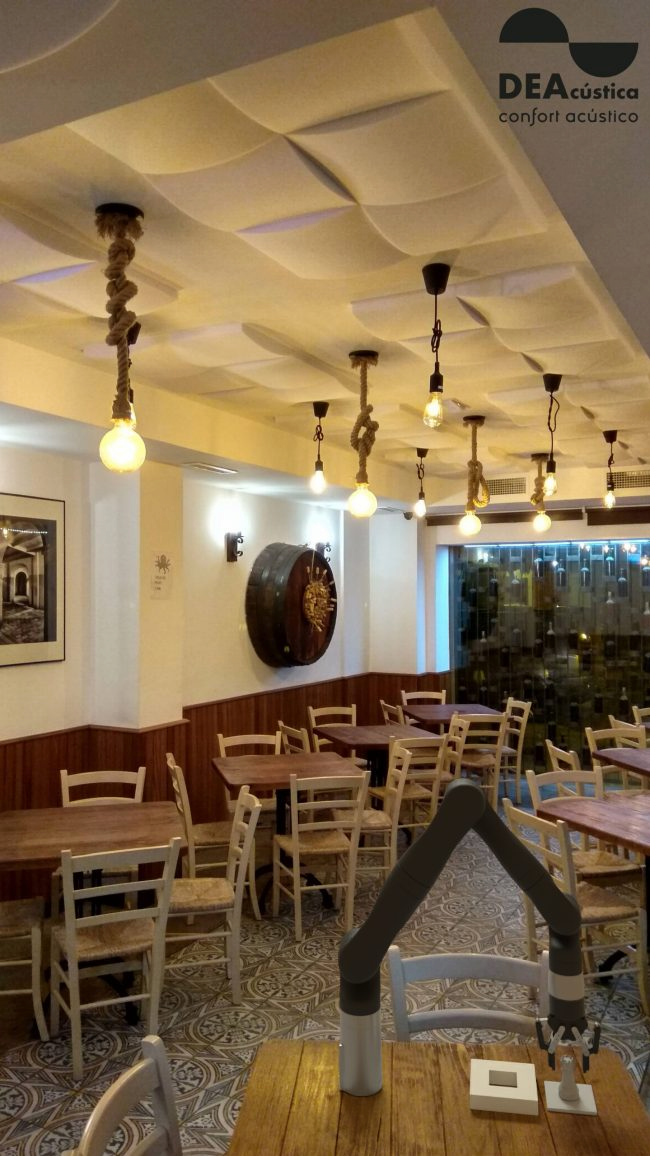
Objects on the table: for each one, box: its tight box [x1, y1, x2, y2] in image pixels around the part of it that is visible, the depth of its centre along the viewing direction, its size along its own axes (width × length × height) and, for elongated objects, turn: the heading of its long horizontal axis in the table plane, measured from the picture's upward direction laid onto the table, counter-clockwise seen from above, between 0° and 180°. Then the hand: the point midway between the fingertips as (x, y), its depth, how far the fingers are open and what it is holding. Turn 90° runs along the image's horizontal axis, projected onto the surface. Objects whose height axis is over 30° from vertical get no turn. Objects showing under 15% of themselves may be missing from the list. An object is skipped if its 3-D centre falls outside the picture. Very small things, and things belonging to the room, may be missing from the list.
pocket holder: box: [469, 1058, 539, 1116], centre depth 179 cm, size 14×14×3 cm
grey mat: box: [543, 1080, 598, 1116], centre depth 176 cm, size 10×10×1 cm
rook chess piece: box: [558, 1054, 579, 1101], centre depth 176 cm, size 4×4×8 cm
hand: (568, 1069), depth 176 cm, fingers open, 6 cm apart
